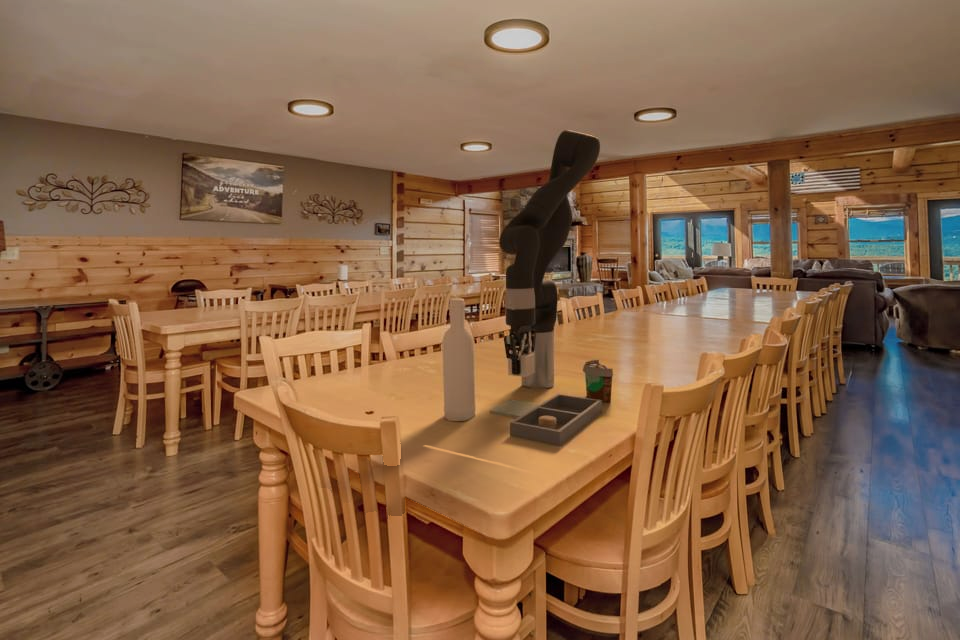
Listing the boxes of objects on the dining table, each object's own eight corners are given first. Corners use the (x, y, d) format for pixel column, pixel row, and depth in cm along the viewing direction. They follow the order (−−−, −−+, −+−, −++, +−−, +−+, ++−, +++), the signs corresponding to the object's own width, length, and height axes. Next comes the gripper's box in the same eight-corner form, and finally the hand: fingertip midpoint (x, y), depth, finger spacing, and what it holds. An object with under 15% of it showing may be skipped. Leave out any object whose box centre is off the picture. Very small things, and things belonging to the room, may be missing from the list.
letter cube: (508, 375, 125) (507, 355, 124) (517, 370, 129) (516, 351, 129) (525, 377, 122) (525, 356, 122) (534, 372, 127) (534, 353, 126)
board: (489, 414, 126) (489, 410, 126) (510, 403, 135) (510, 399, 135) (527, 421, 120) (527, 417, 120) (547, 409, 129) (547, 405, 129)
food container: (577, 393, 143) (577, 360, 142) (597, 392, 143) (598, 359, 142) (590, 406, 131) (590, 369, 129) (612, 405, 131) (613, 368, 130)
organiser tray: (510, 437, 110) (509, 422, 109) (558, 406, 131) (558, 393, 131) (559, 447, 103) (559, 431, 103) (601, 413, 125) (601, 400, 124)
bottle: (481, 418, 123) (479, 298, 119) (454, 424, 119) (450, 301, 115) (465, 409, 130) (462, 297, 126) (438, 415, 126) (435, 298, 122)
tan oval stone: (535, 432, 111) (535, 419, 111) (543, 427, 115) (543, 414, 114) (551, 435, 109) (551, 422, 109) (559, 430, 112) (559, 417, 112)
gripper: (519, 303, 132) (520, 365, 134) (493, 308, 120) (494, 376, 122) (545, 303, 128) (546, 367, 130) (520, 309, 116) (521, 379, 118)
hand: (521, 371), depth 126 cm, fingers closed on letter cube, 5 cm apart
